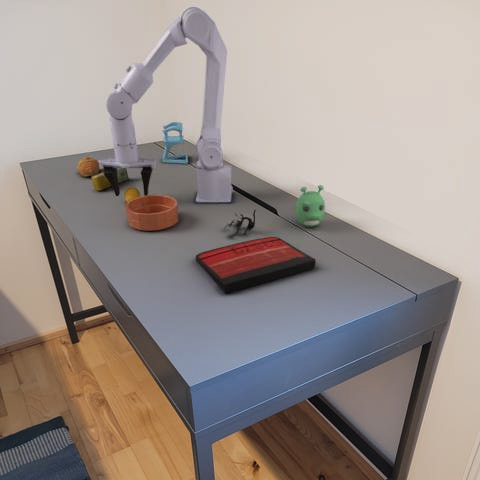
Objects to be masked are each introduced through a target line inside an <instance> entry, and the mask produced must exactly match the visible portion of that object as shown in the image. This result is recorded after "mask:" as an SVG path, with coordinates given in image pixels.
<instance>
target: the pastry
mask: <svg viewBox="0 0 480 480" xmlns="http://www.w3.org/2000/svg"><path fill="white" fill-rule="evenodd" d="M76 167H77V171H78V173H79V174H80V176H82V177H85V178H86V177H92V176H95V175H97V174H100V170H101V169H100V168H99V160H97V159H94V158H93V157H91V156H90V157H88V156H87V157H84V158H82V159H81V158H80V160H79V162H78V165H77V166H76Z"/></svg>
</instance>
